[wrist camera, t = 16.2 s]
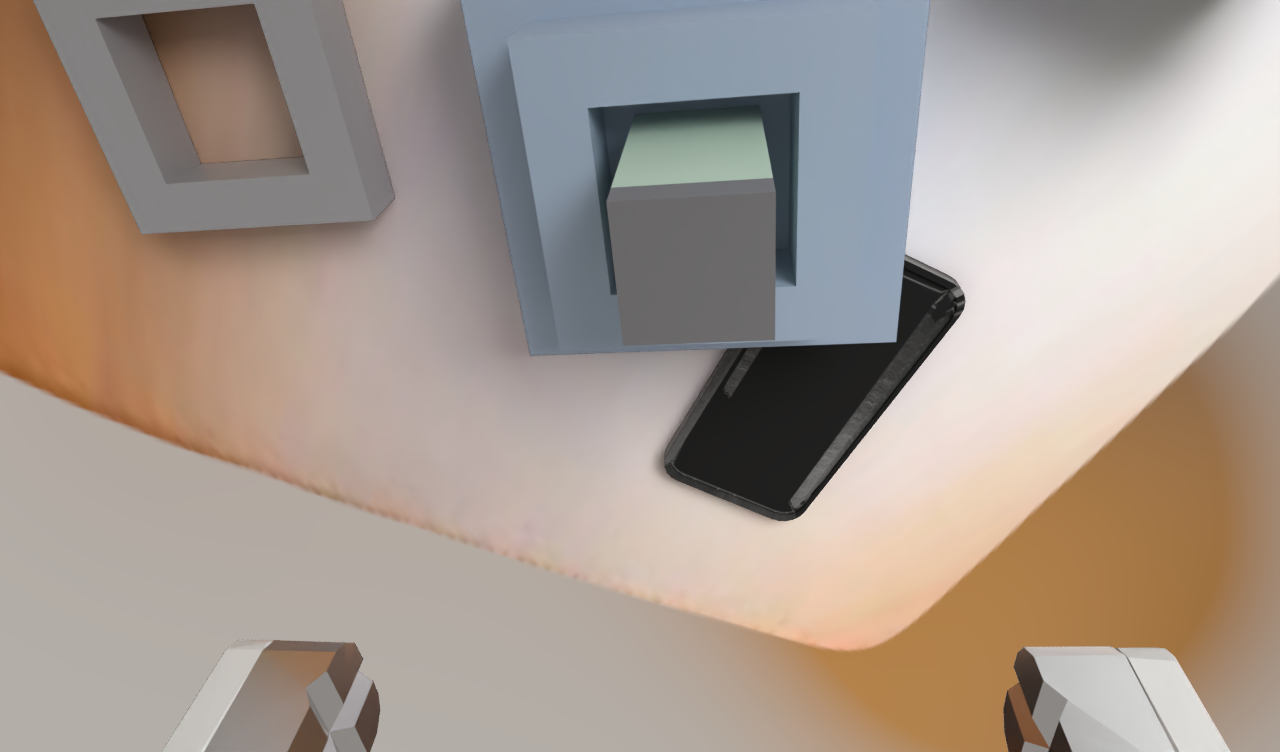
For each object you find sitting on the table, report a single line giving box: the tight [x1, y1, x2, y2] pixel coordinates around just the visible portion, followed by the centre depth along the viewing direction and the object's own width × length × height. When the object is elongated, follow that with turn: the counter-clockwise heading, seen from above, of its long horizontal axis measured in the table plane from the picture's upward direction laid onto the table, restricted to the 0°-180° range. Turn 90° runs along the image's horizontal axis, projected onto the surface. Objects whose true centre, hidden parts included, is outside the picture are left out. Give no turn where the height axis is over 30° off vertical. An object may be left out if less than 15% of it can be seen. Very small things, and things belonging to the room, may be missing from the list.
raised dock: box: [461, 0, 930, 356], centre depth 27 cm, size 14×14×8 cm
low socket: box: [33, 0, 395, 234], centre depth 30 cm, size 10×10×2 cm
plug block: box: [606, 105, 776, 346], centre depth 23 cm, size 4×4×8 cm
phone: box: [664, 255, 965, 521], centre depth 36 cm, size 8×1×15 cm
